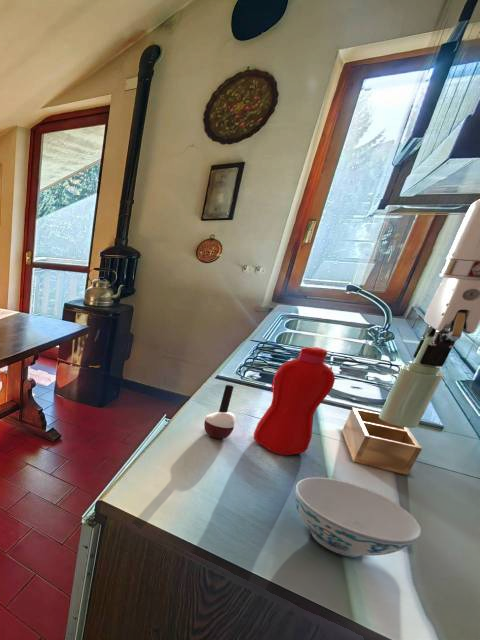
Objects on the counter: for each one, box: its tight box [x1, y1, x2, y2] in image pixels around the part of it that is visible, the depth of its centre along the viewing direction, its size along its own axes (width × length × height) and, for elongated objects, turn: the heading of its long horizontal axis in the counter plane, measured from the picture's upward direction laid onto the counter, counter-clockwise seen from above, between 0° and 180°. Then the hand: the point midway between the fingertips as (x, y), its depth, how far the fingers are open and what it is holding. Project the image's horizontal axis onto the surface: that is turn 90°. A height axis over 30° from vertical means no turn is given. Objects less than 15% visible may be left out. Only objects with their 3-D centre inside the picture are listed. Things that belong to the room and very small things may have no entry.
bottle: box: [379, 336, 445, 429], centre depth 82 cm, size 6×6×19 cm
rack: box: [341, 407, 423, 476], centre depth 91 cm, size 9×17×7 cm, turn 145°
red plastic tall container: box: [253, 346, 336, 456], centre depth 90 cm, size 9×11×25 cm
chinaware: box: [294, 477, 422, 558], centre depth 65 cm, size 15×15×8 cm
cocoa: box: [203, 384, 236, 440], centre depth 96 cm, size 10×6×12 cm, turn 122°
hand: (427, 361), depth 80 cm, fingers closed on bottle, 3 cm apart
